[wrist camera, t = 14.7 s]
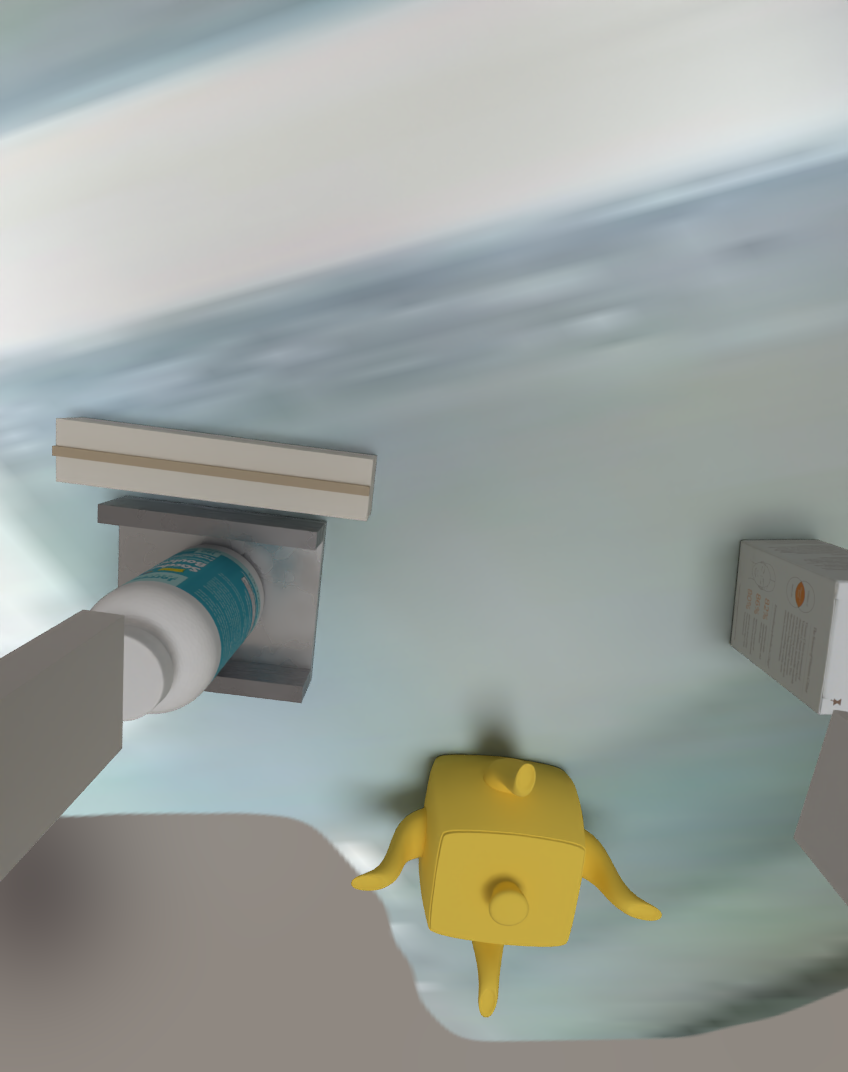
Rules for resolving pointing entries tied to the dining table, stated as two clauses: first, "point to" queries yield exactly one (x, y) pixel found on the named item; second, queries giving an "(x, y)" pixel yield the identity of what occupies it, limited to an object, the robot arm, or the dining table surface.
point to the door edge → (214, 468)
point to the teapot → (501, 859)
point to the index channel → (280, 561)
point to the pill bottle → (183, 625)
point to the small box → (795, 617)
